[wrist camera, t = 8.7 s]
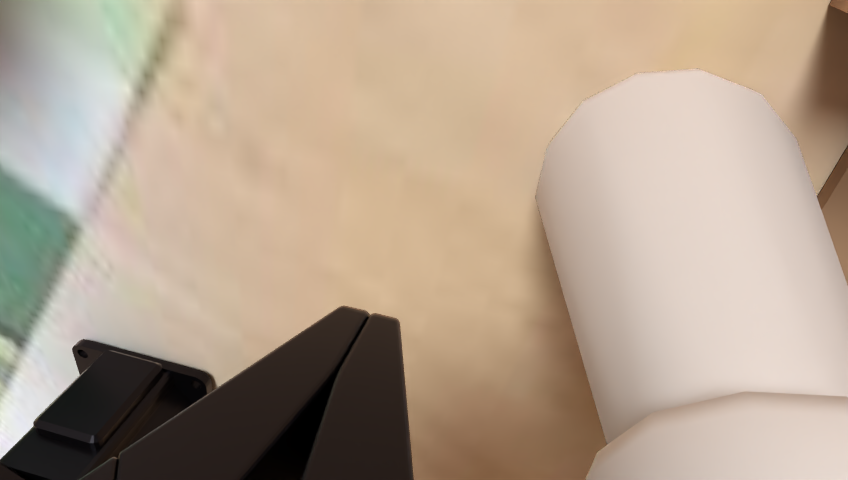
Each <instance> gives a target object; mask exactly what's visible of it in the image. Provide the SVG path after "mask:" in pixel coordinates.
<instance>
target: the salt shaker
mask: <svg viewBox="0 0 848 480" xmlns="http://www.w3.org/2000/svg"><path fill="white" fill-rule="evenodd" d="M535 199H536V202H537V206H538V209H539V212H540V216H541V219H542V223H543V226H544V230H545V233H546V237H547V240H548V243H549V247H550V250H551V254H552V257H553V261H554V264H555V268H556V271H557V274H558V278H559V281H560V285H561V288H562V292H563V295H564V299H565V302H566V305H567V309H568V312H569V316H570V319H571V323H572V326H573V330H574V333H575V336H576V340H577V343H578V347H579V350H580V354H581V357H582V361H583V364H584V367H585V371H586V374H587V378H588V381H589V385H590V388H591V392H592V395H593V398H594V402H595V405H596V409H597V412H598V416H599V419H600V423H601V426H602V429H603V433H604V436H605V440H606V443H607V445H606V446H605V447H603V448H602V449H601V450H599V451H598V452H597V453H596V456H595V458H594V460H593V463H592V465H591V467H590V470H589V472H588V474H587V477H586V479H585V480H848V285H847V282H846V279H845V276H844V274H843V271H842V268H841V265H840V262H839V259H838V256H837V254H836V251H835V248H834V245H833V242H832V239H831V236H830V233H829V231H828V228H827V225H826V222H825V219H824V216H823V213H822V210H821V208H820V205H819V202H818V199H817V196H816V193H815V190H814V188H813V185H812V182H811V179H810V176H809V173H808V170H807V167H806V165H805V162H804V159H803V156H802V153H801V150H800V147H799V144H798V142H797V139H796V137H795V136H794V135H793V134H792V132H791V131H790V130H789V128H788V127H787V126H786V125H785V123H784V122H783V121H782V120H781V118H780V117H779V116H778V114H777V113H776V112H775V111H774V109H773V108H772V107H771V106H770V104H769V103H768V102H767V101H766V99H765V98H764V97H763V95H762V94H760V93H758V92H756V91H754V90H752V89H749V88H747V87H744V86H742V85H739V84H736V83H734V82H731V81H729V80H726V79H724V78H721V77H718V76H716V75H713V74H711V73H708V72H706V71H703V70H701V69H698V68H697V69H684V70H671V71H657V72H644V73H636V74H634V75H632V76H630V77H628V78H626V79H624V80H622V81H620V82H618V83H616V84H614V85H612V86H610V87H608V88H606V89H605V90H603V91H601V92H599V93H597V94H595V95H593V96H591V97H589V98H587V99H585V100H583V101H582V103H581V104H580V105H579V106H578V108H577V109H576V110H575V111H574V113H573V114H572V115H571V116H570V118H569V119H568V120H567V121H566V123H565V124H564V125H563V126H562V128H561V129H560V130H559V131H558V133H557V134H556V135H555V136H554V138H553V139H552V140H551V141H550V143H549V145H548V147H547V149H546V153H545V157H544V162H543V166H542V170H541V174H540V179H539V183H538V187H537V191H536V195H535Z"/></svg>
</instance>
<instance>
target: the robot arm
mask: <svg viewBox="0 0 848 480" xmlns="http://www.w3.org/2000/svg"><path fill="white" fill-rule="evenodd" d="M72 350H73V354H74V357H75V361H76V364H77V367H78V370H79V374H80V376H79V377H78V378H77V379H76V380H75V381H74V382H73V383H72V384H71V385H70V386H69V387H68V388H67V389H66V390H65V391H64V392H63V393H62V394H61V395H60V396H59V397H58V398H57V399H56V400H54V401H53V402H52V403H51V404H50V405H49V406H48V407H47V408H46V409H45V410H44V411H43V412H42V413H41V414H40V415H39V416H38V417H37V418H36V419H35V421H34V422H33V423H34V426H33V427H32V428H31V429H30V430H29V431H28V432H27V433H26V434H25V435H24V436H23V437H22V438H21V439H20V440H19V441H18V442H17V443H16V444H15V445H14V446H13V447H12V448H11V449H10V450H9V451H8V452H7V453H6V454H5V455H4V456H3V457H2V458H1V459H0V480H414V478H413V466H412V455H411V444H410V432H409V421H408V410H407V398H406V387H405V376H404V364H403V353H402V342H401V330H400V322H399V320H398V319H397V318H393V317H389V316H385V315H381V314H377V313H374V314H371V315H370V314H369V313H368V312H367V311H365V310H361V309H357V308H353V307H349V306H341V307H339V308H337V309H336V310H334V311H333V312H331V313H330V314H328V315H327V316H325V317H324V318H322V319H320V320H319V321H317V322H316V323H314V324H313V325H311V326H310V327H308V328H307V329H305V330H304V331H302V332H301V333H299V334H298V335H296V336H295V337H293V338H292V339H290V340H289V341H287V342H286V343H284V344H283V345H281V346H280V347H278V348H277V349H275V350H274V351H272V352H271V353H269V354H268V355H266V356H265V357H263V358H262V359H260V360H259V361H257V362H256V363H254V364H253V365H251V366H250V367H248V368H247V369H245V370H244V371H242V372H241V373H239V374H238V375H236V376H235V377H233V378H232V379H230V380H229V381H227V382H226V383H224V384H223V385H221V386H219V387H218V388H216V389H215V390H213V391H212V383H211V379H210V377H209V376H208V375H207V374H206V373H204V372H202V371H200V370H196V369H192V368H189V367H185V366H181V365H178V364H174V363H170V362H167V361H163V360H159V359H156V358H152V357H148V356H145V355H141V354H137V353H134V352H130V351H126V350H123V349H119V348H115V347H112V346H108V345H104V344H100V343H97V342H93V341H89V340H84V339H83V340H80V341H79V342H78V343H77V344H76V345H75V346H74V347H73V348H72Z"/></svg>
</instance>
